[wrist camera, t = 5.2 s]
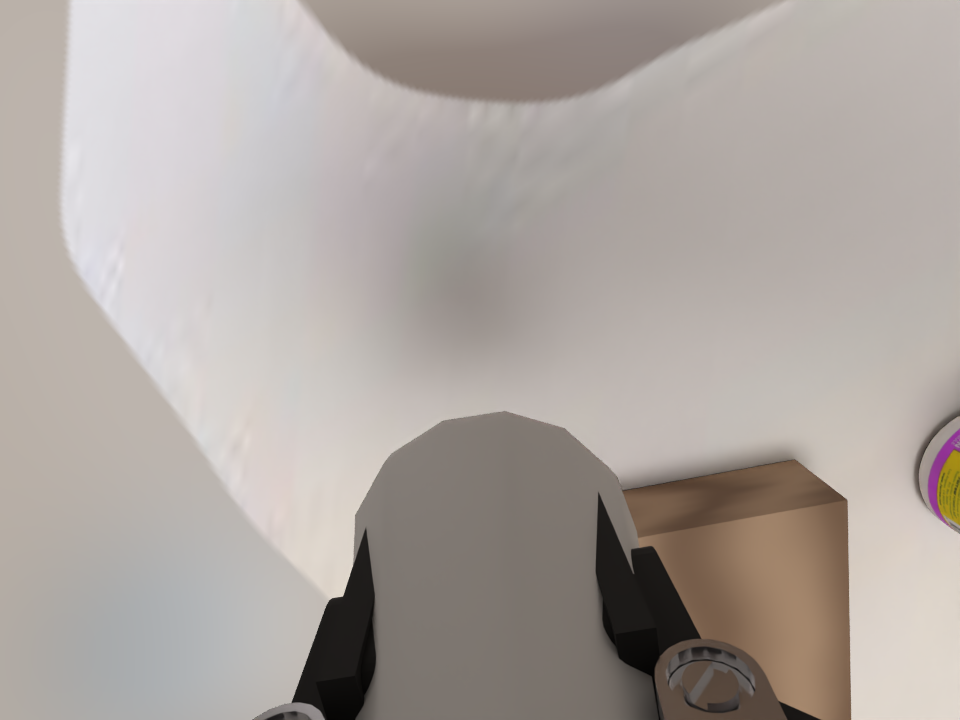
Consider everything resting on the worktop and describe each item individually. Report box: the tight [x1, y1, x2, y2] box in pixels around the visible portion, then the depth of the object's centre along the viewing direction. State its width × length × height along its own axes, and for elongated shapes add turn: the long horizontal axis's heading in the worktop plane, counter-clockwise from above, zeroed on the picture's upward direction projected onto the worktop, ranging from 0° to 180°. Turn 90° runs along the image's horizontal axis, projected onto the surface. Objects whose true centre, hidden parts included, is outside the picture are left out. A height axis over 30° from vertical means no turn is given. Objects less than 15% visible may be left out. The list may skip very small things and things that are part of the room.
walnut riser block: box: [622, 460, 851, 720], centre depth 29 cm, size 12×12×4 cm
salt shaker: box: [353, 411, 659, 720], centre depth 8 cm, size 6×6×13 cm
